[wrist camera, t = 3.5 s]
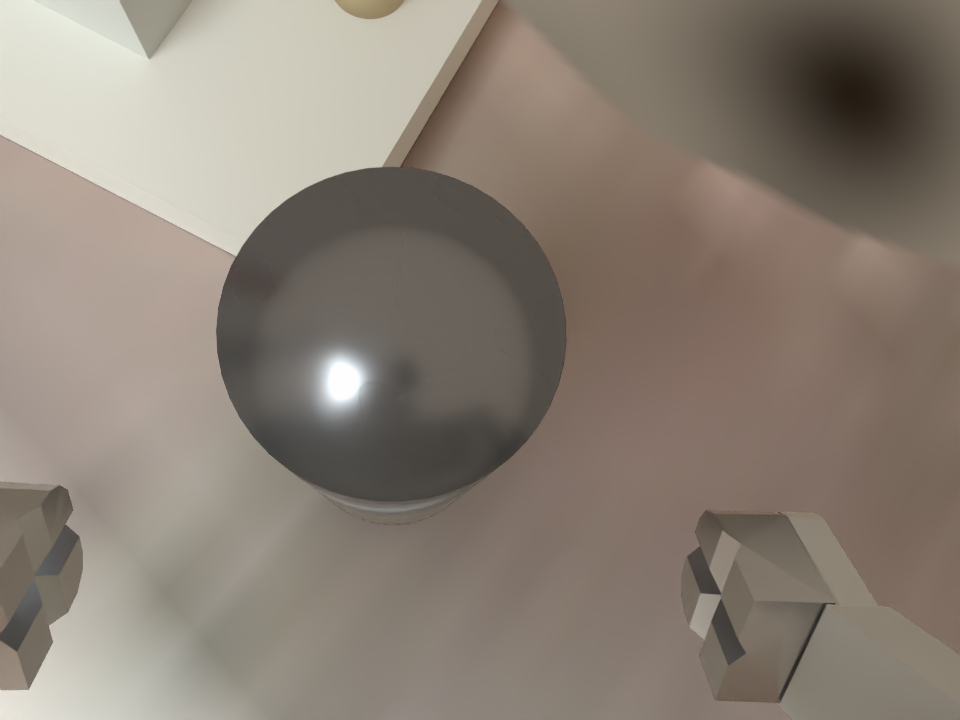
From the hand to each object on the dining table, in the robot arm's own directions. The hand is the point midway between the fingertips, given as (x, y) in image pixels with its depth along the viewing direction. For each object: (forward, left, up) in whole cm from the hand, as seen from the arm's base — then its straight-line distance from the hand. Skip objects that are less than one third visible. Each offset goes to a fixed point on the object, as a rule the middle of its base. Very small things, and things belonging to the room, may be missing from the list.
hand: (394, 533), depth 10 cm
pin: (-1, +2, -7) cm, 8 cm away
